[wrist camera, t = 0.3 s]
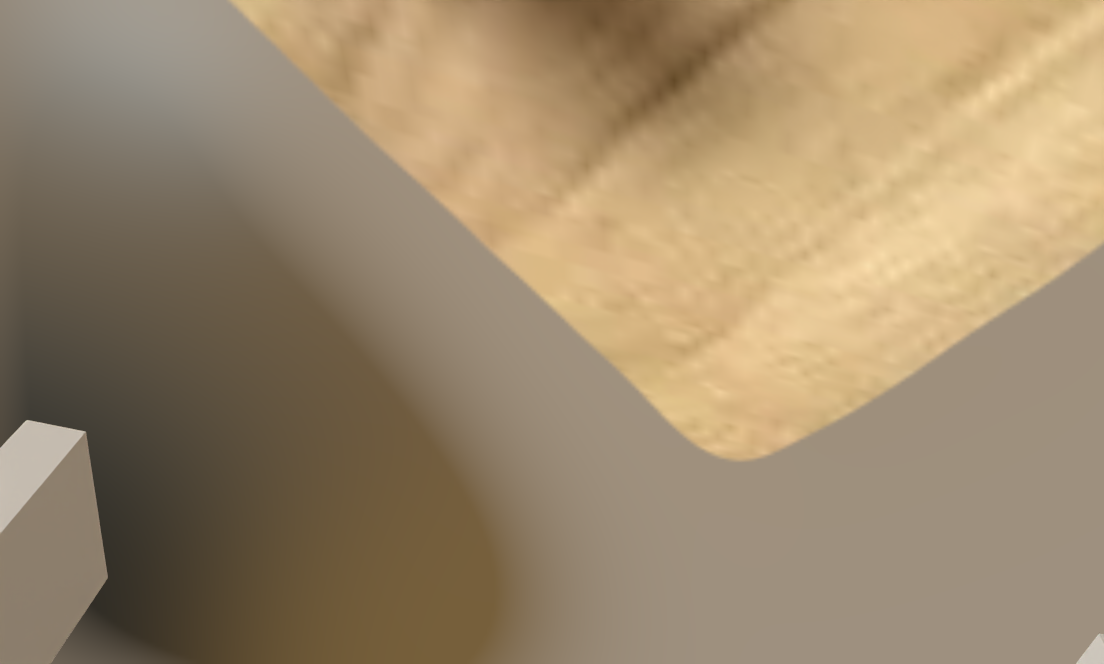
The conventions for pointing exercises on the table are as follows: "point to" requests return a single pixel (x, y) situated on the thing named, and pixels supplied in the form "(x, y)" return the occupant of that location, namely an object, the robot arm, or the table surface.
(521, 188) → the table surface
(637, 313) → the table surface
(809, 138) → the table surface
